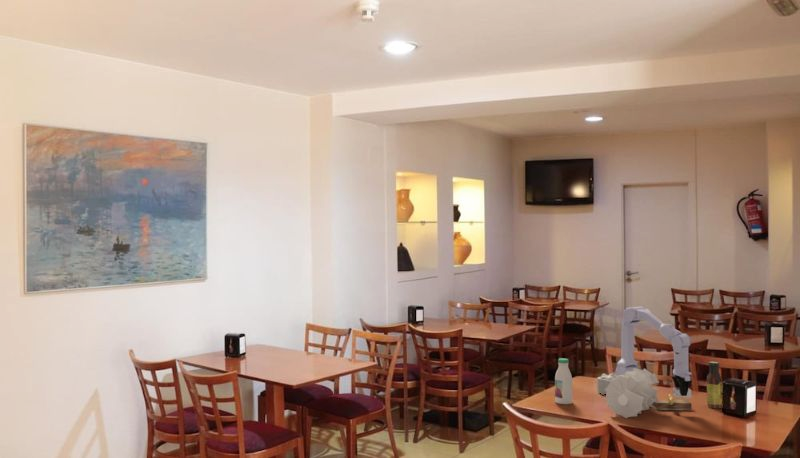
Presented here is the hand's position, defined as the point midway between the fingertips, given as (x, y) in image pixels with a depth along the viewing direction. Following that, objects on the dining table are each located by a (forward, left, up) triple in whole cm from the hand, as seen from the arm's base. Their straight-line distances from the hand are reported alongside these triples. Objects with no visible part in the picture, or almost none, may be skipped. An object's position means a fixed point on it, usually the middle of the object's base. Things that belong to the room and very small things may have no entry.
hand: (681, 394), depth 277 cm
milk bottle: (-47, +16, -8) cm, 50 cm away
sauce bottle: (+18, +10, -8) cm, 22 cm away
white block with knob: (0, 0, -1) cm, 1 cm away
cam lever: (-3, +5, -5) cm, 7 cm away
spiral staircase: (-21, 0, -8) cm, 23 cm away
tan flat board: (-2, +8, -8) cm, 11 cm away
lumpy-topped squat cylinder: (-20, +36, -8) cm, 42 cm away
